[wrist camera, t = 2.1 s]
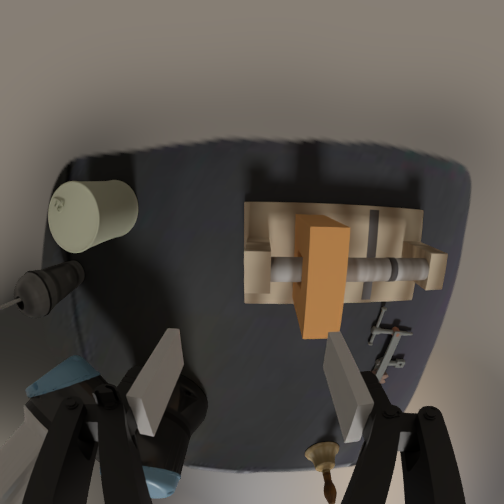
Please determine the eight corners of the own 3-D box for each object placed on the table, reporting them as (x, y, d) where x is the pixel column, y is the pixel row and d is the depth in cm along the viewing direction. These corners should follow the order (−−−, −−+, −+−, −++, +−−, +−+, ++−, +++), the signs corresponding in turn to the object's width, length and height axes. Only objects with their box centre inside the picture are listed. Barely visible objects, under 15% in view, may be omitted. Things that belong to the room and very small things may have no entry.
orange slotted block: (292, 297, 40) (302, 339, 29) (295, 214, 38) (310, 226, 26) (318, 296, 40) (338, 337, 29) (324, 215, 37) (350, 227, 26)
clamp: (396, 383, 44) (352, 382, 44) (392, 377, 46) (349, 375, 46) (428, 315, 41) (383, 309, 41) (422, 310, 43) (378, 304, 43)
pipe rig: (245, 300, 43) (240, 330, 34) (244, 201, 39) (239, 206, 30) (409, 297, 42) (436, 321, 33) (420, 209, 38) (454, 216, 29)
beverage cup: (59, 280, 44) (-13, 322, 24) (64, 246, 42) (-16, 279, 23) (87, 297, 44) (17, 350, 25) (93, 263, 43) (14, 307, 23)
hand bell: (344, 441, 51) (358, 494, 35) (330, 460, 53) (339, 509, 37) (312, 440, 50) (321, 496, 35) (299, 458, 52) (304, 511, 37)
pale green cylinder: (108, 169, 39) (62, 167, 27) (149, 200, 40) (109, 207, 28) (83, 216, 41) (37, 227, 29) (121, 248, 42) (80, 268, 30)
